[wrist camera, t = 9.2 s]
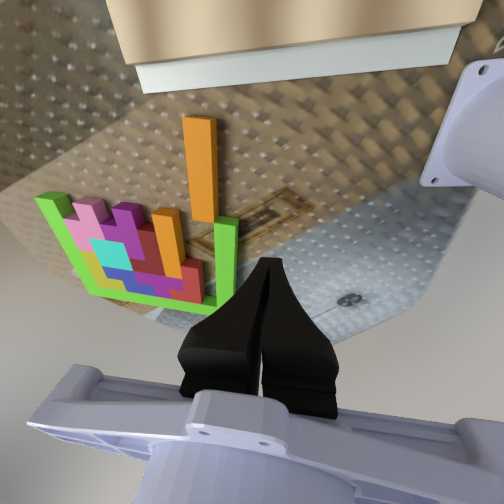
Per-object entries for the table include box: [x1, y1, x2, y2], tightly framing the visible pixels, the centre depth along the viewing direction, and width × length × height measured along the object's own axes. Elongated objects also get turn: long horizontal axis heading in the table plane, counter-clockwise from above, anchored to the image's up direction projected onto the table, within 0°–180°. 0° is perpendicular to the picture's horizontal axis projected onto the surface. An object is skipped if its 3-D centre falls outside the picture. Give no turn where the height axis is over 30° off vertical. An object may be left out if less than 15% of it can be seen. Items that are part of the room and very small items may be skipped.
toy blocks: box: [34, 116, 239, 315], centre depth 25 cm, size 23×2×25 cm
